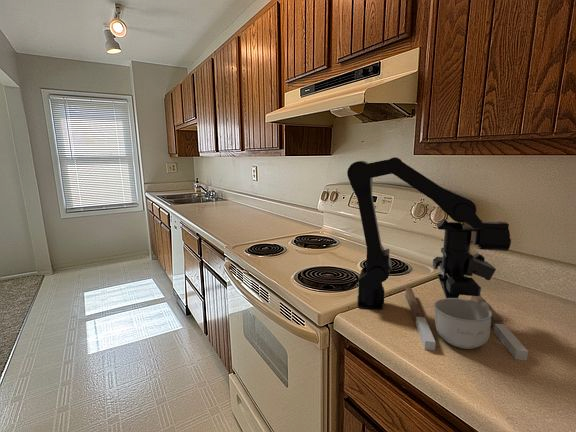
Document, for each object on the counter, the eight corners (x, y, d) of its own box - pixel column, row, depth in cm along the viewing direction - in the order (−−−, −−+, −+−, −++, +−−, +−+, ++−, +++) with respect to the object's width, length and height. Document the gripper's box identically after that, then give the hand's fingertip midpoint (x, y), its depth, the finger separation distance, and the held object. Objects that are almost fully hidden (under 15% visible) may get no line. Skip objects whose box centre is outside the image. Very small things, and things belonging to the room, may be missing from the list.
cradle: (414, 322, 75) (415, 312, 75) (405, 295, 90) (405, 287, 89) (501, 329, 71) (502, 320, 71) (476, 300, 86) (477, 292, 85)
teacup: (458, 360, 61) (461, 323, 60) (421, 330, 72) (424, 299, 70) (512, 347, 65) (517, 313, 63) (470, 321, 75) (473, 291, 74)
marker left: (424, 349, 65) (425, 341, 64) (415, 324, 74) (416, 316, 74) (434, 350, 64) (435, 342, 64) (424, 325, 74) (425, 317, 74)
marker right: (515, 359, 61) (516, 350, 61) (493, 331, 71) (494, 323, 70) (526, 360, 61) (528, 351, 60) (503, 332, 70) (504, 324, 70)
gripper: (511, 262, 64) (502, 329, 67) (479, 238, 82) (473, 292, 85) (453, 259, 67) (447, 324, 70) (434, 236, 85) (430, 289, 88)
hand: (451, 305), depth 78 cm, fingers closed
